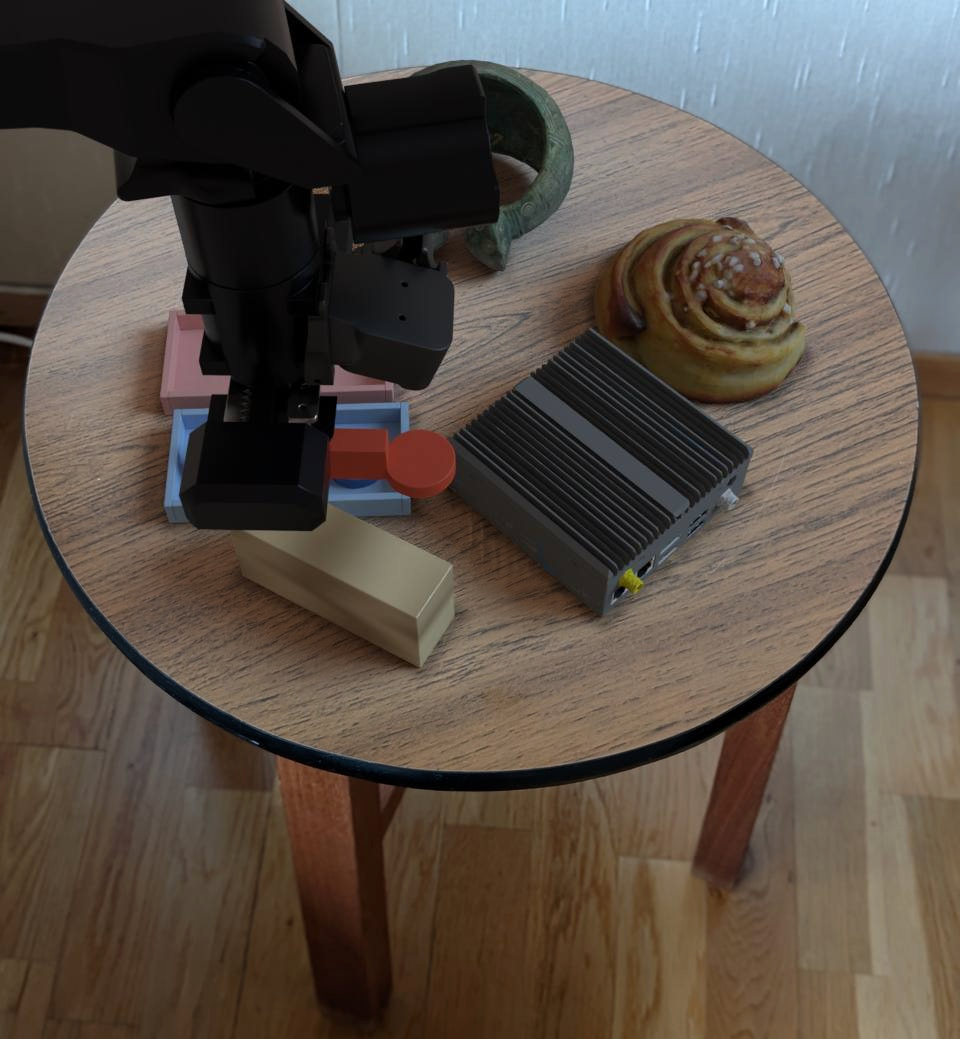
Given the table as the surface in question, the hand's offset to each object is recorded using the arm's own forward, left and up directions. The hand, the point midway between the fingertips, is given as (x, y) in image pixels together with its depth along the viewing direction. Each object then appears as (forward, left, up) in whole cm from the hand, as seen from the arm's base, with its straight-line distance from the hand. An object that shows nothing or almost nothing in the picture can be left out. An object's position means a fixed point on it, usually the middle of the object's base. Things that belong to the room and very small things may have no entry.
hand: (294, 455), depth 70 cm
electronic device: (+17, +6, -13) cm, 23 cm away
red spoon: (+3, 0, -1) cm, 3 cm away
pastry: (+26, +20, -13) cm, 35 cm away
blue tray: (-2, +8, -13) cm, 16 cm away
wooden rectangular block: (+2, -1, -13) cm, 13 cm away
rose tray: (-3, +17, -13) cm, 21 cm away
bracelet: (+10, +31, -13) cm, 35 cm away
